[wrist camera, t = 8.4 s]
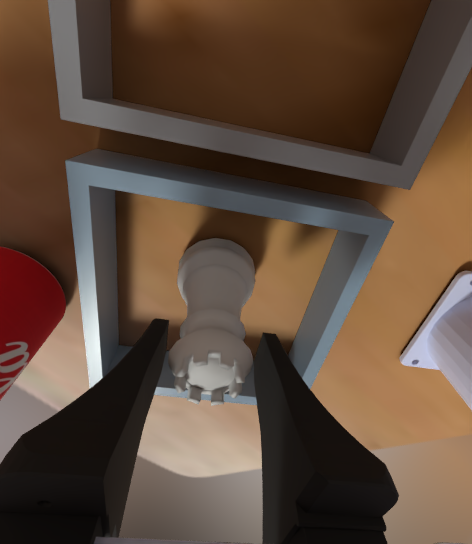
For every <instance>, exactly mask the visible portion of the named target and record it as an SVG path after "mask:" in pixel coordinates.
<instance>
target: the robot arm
mask: <svg viewBox="0 0 472 544" xmlns="http://www.w3.org/2000/svg"><path fill="white" fill-rule="evenodd" d="M168 325H169V320H164V319H154V320H153V321H152V323H151V324H150V326H149V327H148V329H147V330H146V331H145V333H144V334H143V335H142V337H141V338H140V339H139V340H138V342H137V343H136V344H135V345H134V346H133V348H132V349H131V350H130V351H129V352H128V353H127V354H126V355H125V356H124V357H123V358H122V360H121V361H120V362H119V363H118V364H117V365H116V366H115V367H114V368H113V369H112V370H111V371H110V372H109V373H107V374H106V375H105V376H104V377H103V378H102V379H101V380H100V381H99V382H97V383H96V384H95V385H94V386H93V387H91V388H90V389H89V390H88V391H86V392H85V393H84V394H83V395H81V396H80V397H79V398H77V399H76V400H75V401H73V402H72V403H71V404H69V405H68V406H66V407H65V408H64V409H62V410H61V411H59V412H58V413H57V414H55V415H54V416H52V417H51V418H49V419H48V420H46V421H44V422H42V423H41V424H39V425H38V426H36V427H34V428H33V429H31V430H30V431H28V432H26V433H25V434H23V435H22V436H21V437H20V438H19V439H18V441H17V442H16V443H15V444H14V446H13V447H12V449H11V450H10V451H9V452H8V454H7V455H6V456H5V458H4V459H3V461H2V462H1V464H0V544H250V543H228V542H206V541H205V542H204V541H182V540H159V539H137V538H118V537H119V532H120V528H121V523H122V519H123V514H124V510H125V505H126V501H127V496H128V492H129V487H130V483H131V478H132V474H133V470H134V465H135V460H136V457H137V452H138V448H139V444H140V440H141V435H142V431H143V427H144V424H145V420H146V417H147V414H148V411H149V408H150V405H151V402H152V399H153V396H154V393H155V390H156V387H157V384H158V381H159V378H160V375H161V372H162V367H163V363H164V358H165V354H166V346H167V335H168ZM400 361H401V363H402V364H403V365H405V366H413V367H421V368H429V369H437V370H441V372H442V373H443V374H444V375H445V377H446V378H447V379H448V381H449V382H450V383H451V384H452V386H453V387H454V388H455V390H456V391H457V392H458V393H459V395H460V396H461V397H462V399H463V400H464V401H465V402H466V404H467V405H468V406H469V408H470V409H471V410H472V271H462V272H460V273H458V274H457V275H456V277H455V278H454V280H453V281H452V282H451V284H450V285H449V287H448V288H447V290H446V291H445V293H444V294H443V295H442V297H441V298H440V300H439V301H438V303H437V304H436V306H435V307H434V309H433V310H432V311H431V313H430V314H429V316H428V317H427V319H426V320H425V322H424V323H423V324H422V326H421V327H420V329H419V330H418V332H417V333H416V335H415V336H414V337H413V339H412V340H411V342H410V343H409V345H408V346H407V348H406V349H405V351H404V352H403V353H402V355H401V356H400ZM254 385H255V393H256V401H257V408H258V415H259V423H260V431H261V448H262V480H263V544H387V541H386V538H385V535H384V533H383V531H384V532H385V531H386V525H385V522H384V520H383V517H382V516H383V515H384V514H386V513H387V512H388V511H389V510H390V509H391V508H392V507H393V506H394V505H395V504H396V502H397V500H398V497H399V495H398V492H397V490H396V487H395V485H394V482H393V480H392V477H391V475H390V473H389V471H388V469H387V467H386V465H385V464H384V463H383V462H382V461H381V460H380V459H378V458H377V457H376V456H375V455H373V454H372V453H371V452H370V451H369V450H367V449H366V448H365V447H364V446H363V445H362V444H360V443H359V442H358V441H357V440H356V439H355V438H354V437H353V436H352V435H351V434H350V433H349V432H348V431H347V430H345V429H344V428H343V427H342V426H341V425H340V423H339V422H338V421H337V420H336V419H335V418H334V417H333V416H332V415H331V414H330V413H329V412H328V411H327V410H326V408H325V407H324V406H323V405H322V404H321V403H320V401H319V400H318V399H317V398H316V397H315V395H314V394H313V393H312V391H311V390H310V389H309V387H308V386H307V384H306V383H305V382H304V380H303V379H302V377H301V376H300V374H299V373H298V371H297V370H296V368H295V367H294V365H293V363H292V362H291V360H290V358H289V357H288V355H287V353H286V352H285V350H284V348H283V346H282V345H281V343H280V341H279V339H278V337H277V336H276V334H270V333H263V335H262V338H261V341H260V344H259V347H258V350H257V353H256V357H255V360H254ZM436 544H462V543H436Z"/></svg>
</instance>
